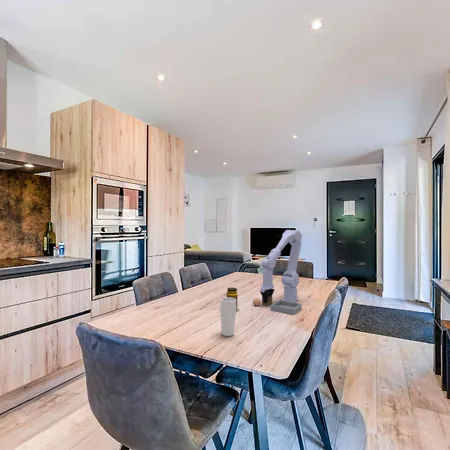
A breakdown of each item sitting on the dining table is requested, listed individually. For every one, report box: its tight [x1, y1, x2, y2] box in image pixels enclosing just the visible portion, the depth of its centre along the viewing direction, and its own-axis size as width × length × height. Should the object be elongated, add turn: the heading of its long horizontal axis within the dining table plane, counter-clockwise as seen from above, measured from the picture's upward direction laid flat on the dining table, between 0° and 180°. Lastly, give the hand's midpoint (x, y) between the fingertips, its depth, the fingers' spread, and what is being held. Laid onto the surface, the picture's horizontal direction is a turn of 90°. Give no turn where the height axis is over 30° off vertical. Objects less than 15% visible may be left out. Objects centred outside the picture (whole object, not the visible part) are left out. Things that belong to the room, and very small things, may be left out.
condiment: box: [225, 287, 241, 312], centre depth 155 cm, size 7×8×12 cm
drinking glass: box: [219, 297, 237, 337], centre depth 121 cm, size 7×7×15 cm
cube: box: [261, 296, 273, 307], centre depth 168 cm, size 4×4×4 cm
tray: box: [270, 299, 303, 316], centre depth 158 cm, size 13×13×3 cm
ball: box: [252, 297, 261, 307], centre depth 165 cm, size 4×4×4 cm
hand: (267, 302), depth 168 cm, fingers closed on cube, 4 cm apart
